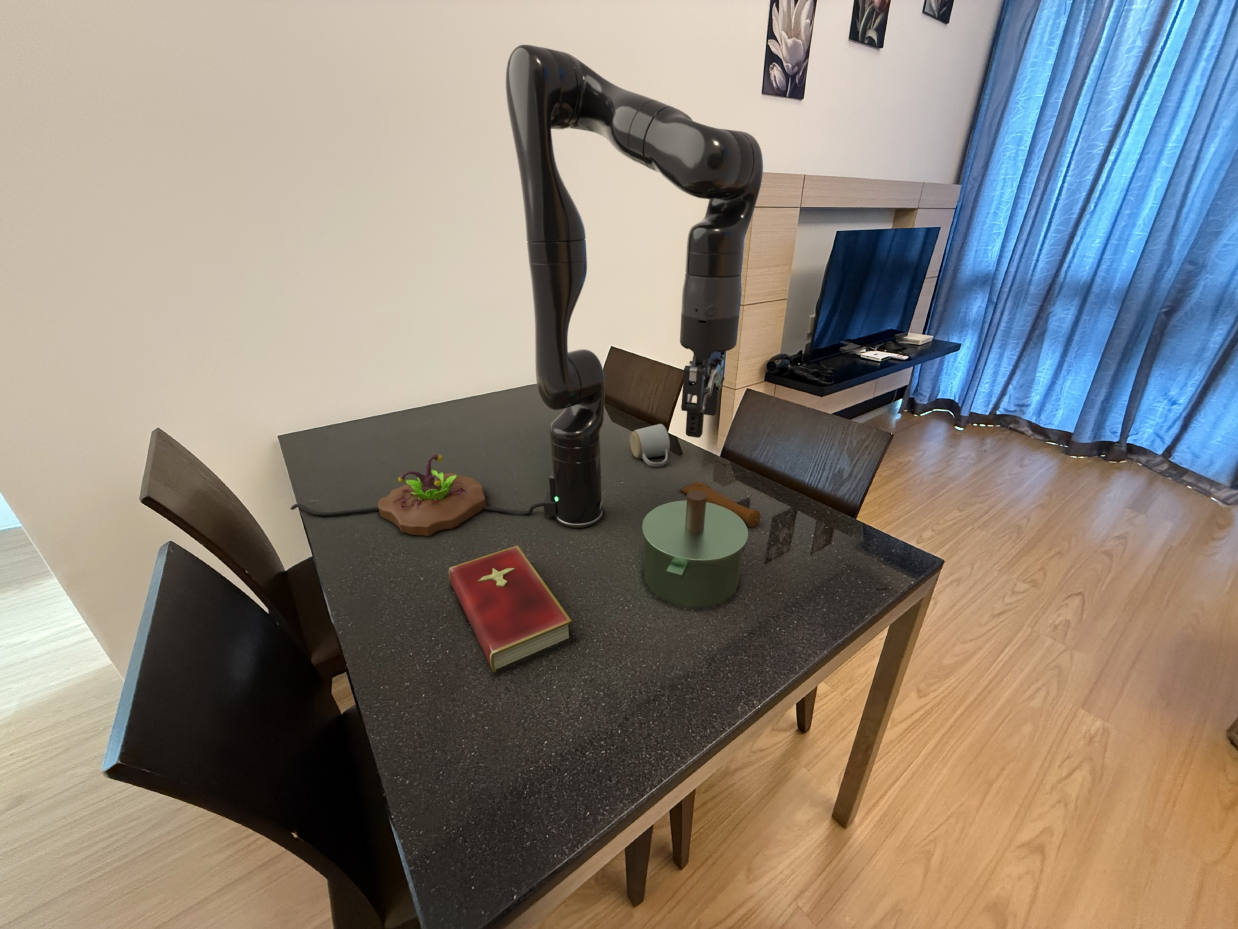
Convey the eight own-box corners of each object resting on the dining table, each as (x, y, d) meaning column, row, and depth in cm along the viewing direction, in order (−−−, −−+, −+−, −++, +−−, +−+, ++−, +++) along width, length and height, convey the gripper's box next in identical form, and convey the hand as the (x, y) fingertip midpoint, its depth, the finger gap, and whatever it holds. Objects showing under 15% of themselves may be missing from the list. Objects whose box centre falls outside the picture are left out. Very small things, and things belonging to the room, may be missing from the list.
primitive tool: (680, 491, 114) (681, 477, 113) (698, 483, 117) (699, 469, 116) (749, 531, 101) (751, 515, 99) (767, 521, 104) (770, 506, 102)
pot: (624, 605, 83) (624, 556, 79) (665, 534, 100) (667, 490, 96) (722, 633, 78) (728, 582, 73) (748, 553, 95) (754, 508, 90)
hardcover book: (492, 676, 71) (489, 653, 69) (450, 587, 87) (446, 566, 85) (572, 641, 76) (571, 619, 74) (519, 563, 92) (517, 544, 90)
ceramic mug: (627, 452, 132) (628, 423, 128) (657, 446, 134) (658, 419, 131) (644, 471, 123) (645, 441, 119) (675, 465, 125) (677, 436, 122)
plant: (504, 505, 110) (498, 456, 105) (417, 546, 97) (405, 493, 92) (452, 474, 122) (445, 429, 117) (369, 507, 109) (356, 459, 104)
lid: (626, 550, 81) (626, 511, 77) (661, 498, 95) (662, 462, 91) (735, 577, 75) (740, 536, 72) (755, 518, 89) (760, 480, 85)
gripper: (696, 298, 76) (690, 404, 83) (665, 318, 64) (661, 439, 72) (749, 302, 73) (737, 411, 81) (727, 323, 61) (715, 449, 69)
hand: (701, 424), depth 76 cm, fingers open, 8 cm apart
